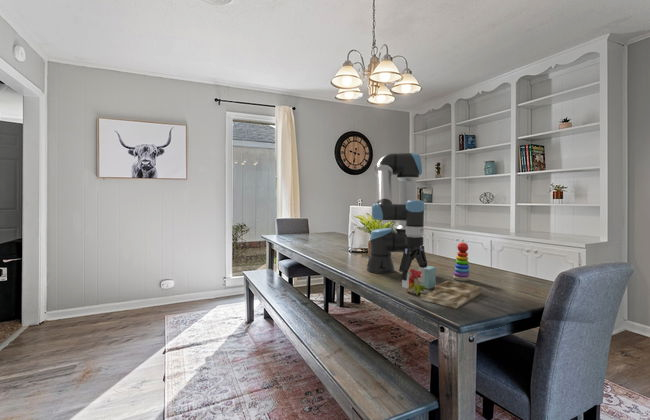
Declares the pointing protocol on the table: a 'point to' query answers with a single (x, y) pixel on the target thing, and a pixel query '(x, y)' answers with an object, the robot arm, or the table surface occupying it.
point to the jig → (452, 294)
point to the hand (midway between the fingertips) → (413, 284)
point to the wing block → (429, 277)
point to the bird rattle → (416, 283)
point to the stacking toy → (462, 263)
